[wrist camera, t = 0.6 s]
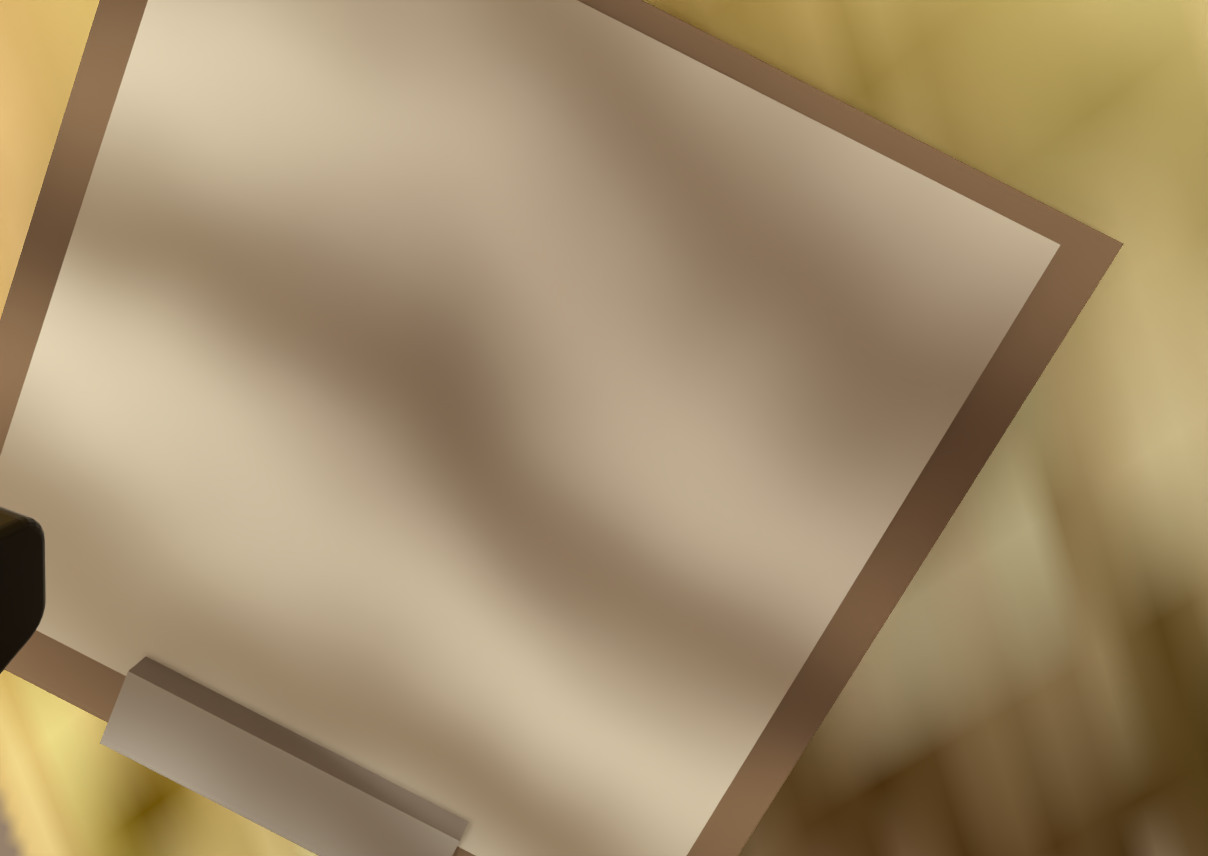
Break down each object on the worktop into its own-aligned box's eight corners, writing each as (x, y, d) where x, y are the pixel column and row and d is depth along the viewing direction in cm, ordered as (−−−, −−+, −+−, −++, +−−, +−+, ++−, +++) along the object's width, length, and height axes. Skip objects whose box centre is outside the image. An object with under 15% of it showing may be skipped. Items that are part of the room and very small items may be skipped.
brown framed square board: (650, 973, 25) (643, 1030, 23) (-67, 605, 25) (-124, 636, 23) (1108, 240, 20) (1141, 248, 18) (195, -221, 20) (146, -256, 18)
